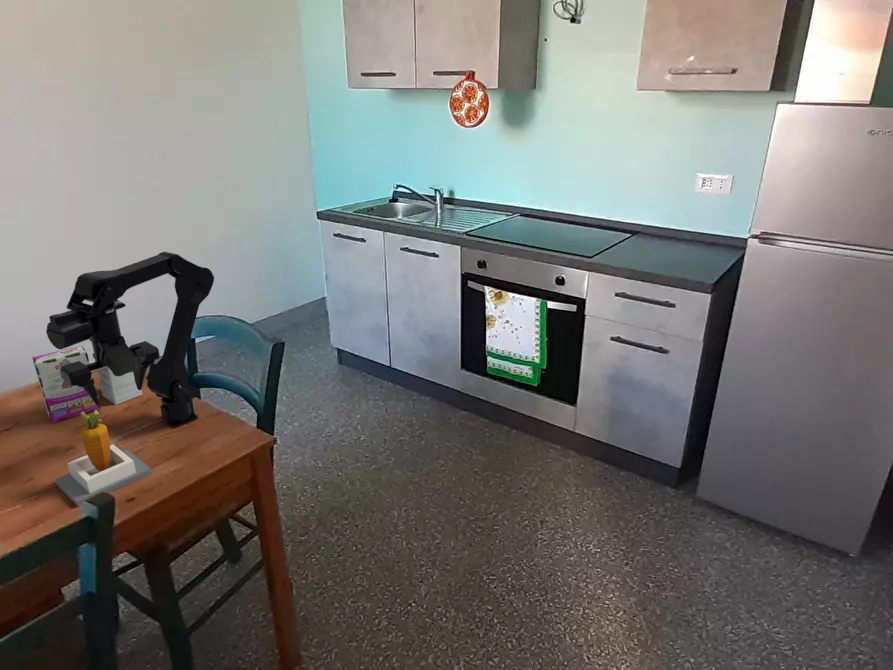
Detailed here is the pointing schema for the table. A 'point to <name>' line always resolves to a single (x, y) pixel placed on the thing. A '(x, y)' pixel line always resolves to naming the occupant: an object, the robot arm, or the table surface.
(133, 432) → the table surface
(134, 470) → the socket
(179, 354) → the robot arm
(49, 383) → the candy bar box
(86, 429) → the carrot
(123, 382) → the supplement box
